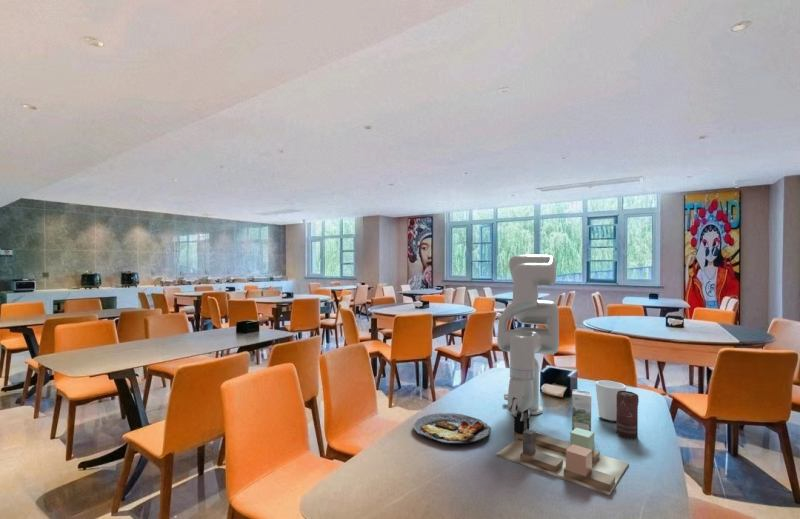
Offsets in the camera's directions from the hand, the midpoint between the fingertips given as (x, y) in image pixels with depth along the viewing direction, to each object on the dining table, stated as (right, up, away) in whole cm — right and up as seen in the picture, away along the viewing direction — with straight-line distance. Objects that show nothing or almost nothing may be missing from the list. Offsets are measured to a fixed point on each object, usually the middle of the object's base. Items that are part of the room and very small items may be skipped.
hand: (521, 430), depth 128 cm
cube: (+14, 0, -12) cm, 19 cm away
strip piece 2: (+10, -3, -25) cm, 27 cm away
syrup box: (+20, -3, +3) cm, 21 cm away
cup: (+38, -4, +18) cm, 42 cm away
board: (+7, -3, -14) cm, 16 cm away
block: (+8, 0, -24) cm, 25 cm away
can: (+36, -4, +4) cm, 36 cm away
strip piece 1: (0, -2, -17) cm, 17 cm away
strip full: (+8, -2, -7) cm, 11 cm away
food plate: (-22, -3, +5) cm, 22 cm away
